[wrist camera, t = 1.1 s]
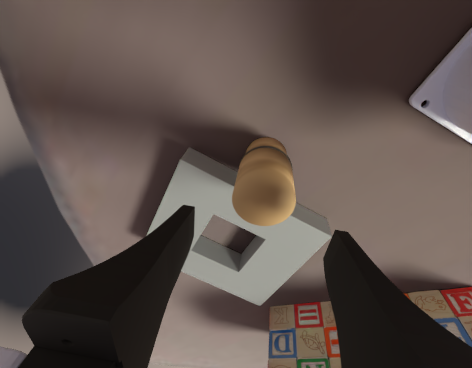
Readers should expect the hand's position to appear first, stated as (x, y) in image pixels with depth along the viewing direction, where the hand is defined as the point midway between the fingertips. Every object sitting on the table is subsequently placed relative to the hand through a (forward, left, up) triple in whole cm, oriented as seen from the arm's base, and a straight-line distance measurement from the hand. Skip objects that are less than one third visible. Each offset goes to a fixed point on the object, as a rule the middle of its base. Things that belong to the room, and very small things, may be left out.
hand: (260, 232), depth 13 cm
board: (-1, +9, -9) cm, 13 cm away
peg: (0, 0, -9) cm, 9 cm away
